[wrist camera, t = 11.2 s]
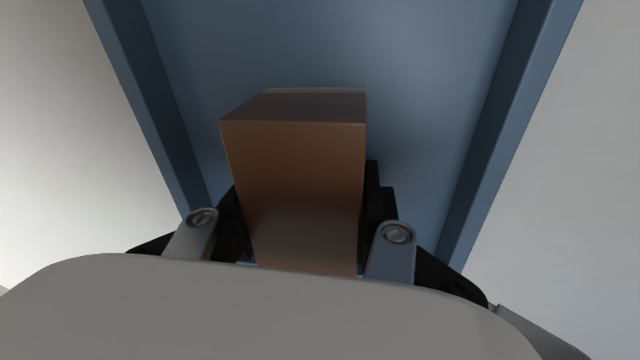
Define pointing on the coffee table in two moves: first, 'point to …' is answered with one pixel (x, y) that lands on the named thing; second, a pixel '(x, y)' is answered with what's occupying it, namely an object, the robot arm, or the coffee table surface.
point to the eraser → (300, 175)
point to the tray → (346, 71)
